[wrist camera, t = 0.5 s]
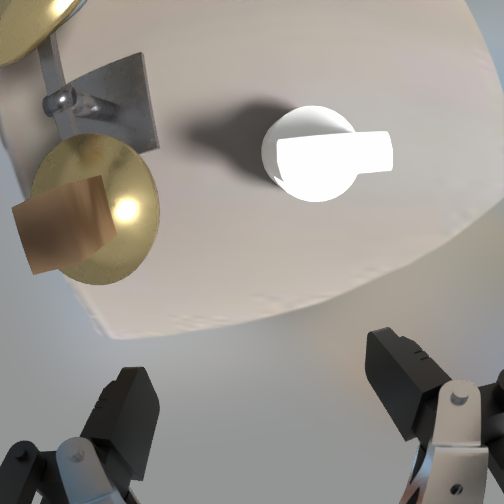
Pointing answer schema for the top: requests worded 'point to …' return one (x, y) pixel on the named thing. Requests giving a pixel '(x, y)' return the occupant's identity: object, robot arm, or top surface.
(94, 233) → the walnut block
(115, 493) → the robot arm
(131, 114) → the balance
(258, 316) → the top surface
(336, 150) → the cylinder with rectangular tab
